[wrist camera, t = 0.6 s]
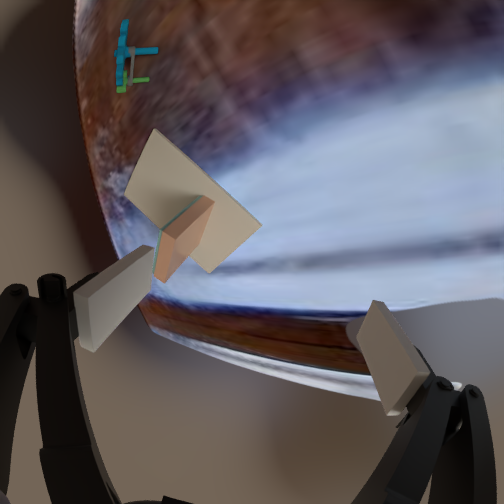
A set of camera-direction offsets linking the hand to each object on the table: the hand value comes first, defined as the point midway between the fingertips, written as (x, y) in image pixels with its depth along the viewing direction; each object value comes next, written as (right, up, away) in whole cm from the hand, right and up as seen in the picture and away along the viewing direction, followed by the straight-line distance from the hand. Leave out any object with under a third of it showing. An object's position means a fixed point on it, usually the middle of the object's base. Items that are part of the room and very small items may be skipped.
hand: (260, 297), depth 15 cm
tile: (-8, +7, +26) cm, 28 cm away
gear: (-16, +30, +13) cm, 37 cm away
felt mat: (-11, +10, +26) cm, 30 cm away
